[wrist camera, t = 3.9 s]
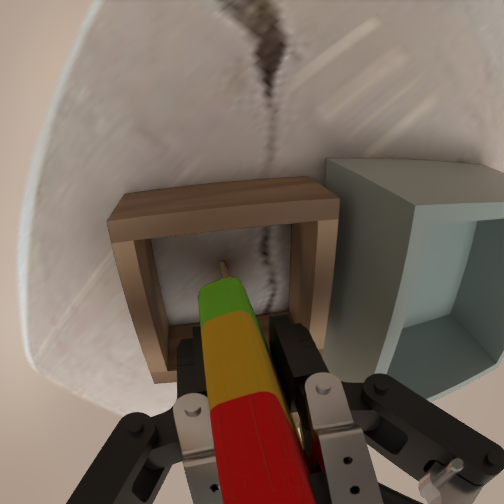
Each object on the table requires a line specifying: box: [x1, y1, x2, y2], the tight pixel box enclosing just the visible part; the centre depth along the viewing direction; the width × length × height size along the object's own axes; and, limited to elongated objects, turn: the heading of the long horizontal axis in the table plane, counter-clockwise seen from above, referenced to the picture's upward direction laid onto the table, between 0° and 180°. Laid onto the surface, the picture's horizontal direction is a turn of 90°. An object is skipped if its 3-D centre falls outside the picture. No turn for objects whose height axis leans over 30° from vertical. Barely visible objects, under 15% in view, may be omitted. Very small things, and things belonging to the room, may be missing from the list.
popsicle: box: [198, 261, 317, 504], centre depth 12 cm, size 6×15×2 cm
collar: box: [107, 176, 340, 384], centre depth 17 cm, size 10×10×4 cm
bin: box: [322, 158, 504, 402], centre depth 17 cm, size 14×14×8 cm
